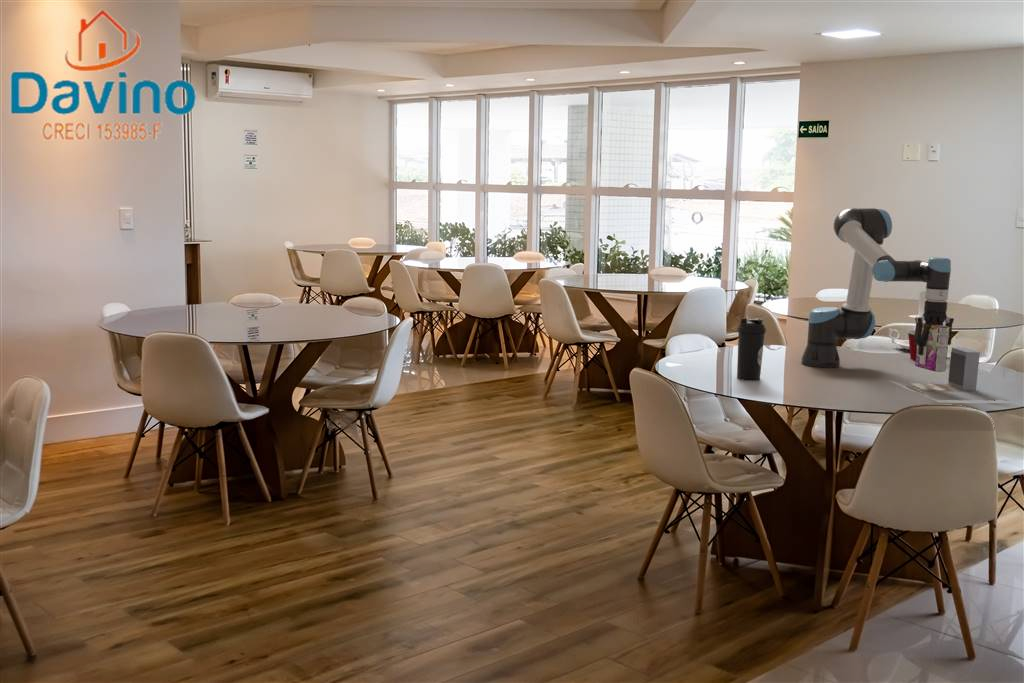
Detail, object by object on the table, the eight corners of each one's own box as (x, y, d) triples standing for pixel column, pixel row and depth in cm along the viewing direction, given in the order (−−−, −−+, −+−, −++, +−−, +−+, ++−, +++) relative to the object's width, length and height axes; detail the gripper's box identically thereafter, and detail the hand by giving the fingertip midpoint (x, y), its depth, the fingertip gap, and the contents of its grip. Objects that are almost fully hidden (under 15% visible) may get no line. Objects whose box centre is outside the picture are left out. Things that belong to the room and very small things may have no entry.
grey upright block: (961, 390, 359) (965, 352, 357) (947, 384, 369) (950, 347, 367) (975, 390, 360) (979, 352, 357) (961, 384, 369) (964, 347, 367)
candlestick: (894, 344, 469) (900, 285, 465) (949, 351, 453) (955, 290, 449) (878, 349, 454) (884, 288, 449) (934, 356, 438) (940, 293, 433)
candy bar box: (913, 366, 366) (918, 322, 364) (925, 366, 368) (929, 322, 365) (934, 371, 356) (939, 326, 353) (946, 371, 357) (950, 326, 355)
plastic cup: (929, 363, 421) (932, 335, 419) (902, 360, 426) (905, 332, 424) (933, 359, 430) (936, 332, 428) (906, 356, 435) (909, 329, 433)
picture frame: (923, 393, 356) (923, 390, 356) (906, 386, 369) (906, 383, 369) (979, 394, 358) (979, 390, 358) (959, 386, 371) (960, 383, 371)
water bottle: (760, 382, 370) (764, 320, 366) (732, 379, 373) (736, 319, 369) (763, 377, 379) (767, 317, 375) (736, 375, 382) (740, 315, 379)
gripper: (916, 301, 353) (911, 365, 357) (966, 302, 355) (960, 366, 359) (906, 299, 361) (901, 362, 364) (955, 299, 362) (949, 362, 366)
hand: (930, 363), depth 362 cm, fingers closed on candy bar box, 6 cm apart
